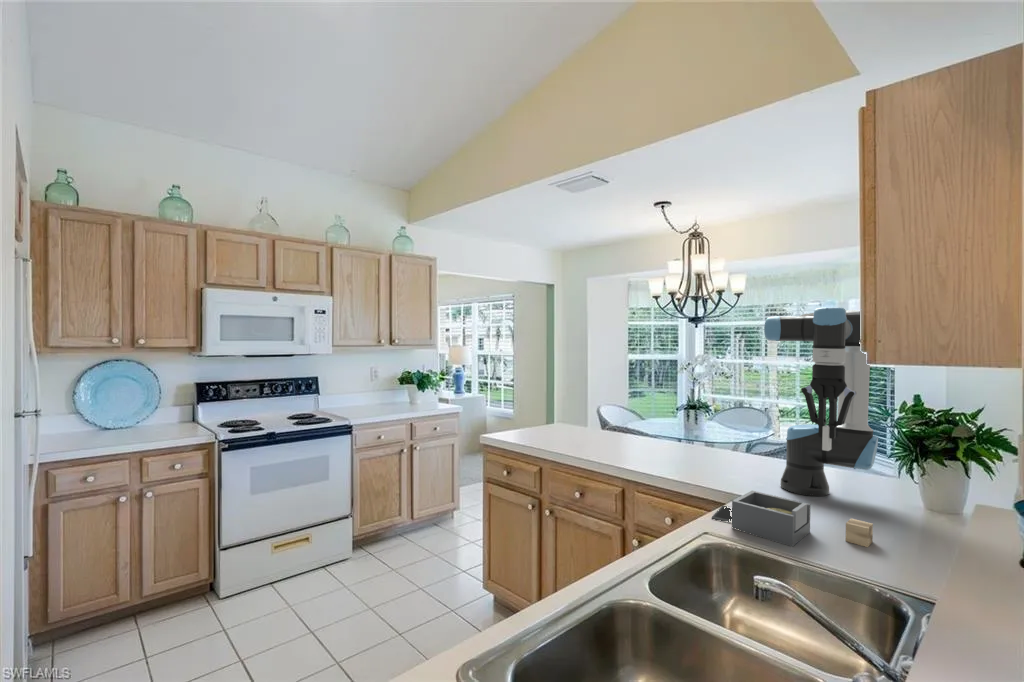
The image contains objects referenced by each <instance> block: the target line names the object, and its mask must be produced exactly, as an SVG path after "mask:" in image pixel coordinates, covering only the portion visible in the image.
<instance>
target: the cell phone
mask: <svg viewBox="0 0 1024 682" xmlns="http://www.w3.org/2000/svg"><path fill="white" fill-rule="evenodd" d="M724 507H726V508H725V509H724ZM718 510H719V511H718ZM718 510H717V511H716V512H714V514H713V515H712V516H711V520H713V519H715V520H714V521H717V520H721V521H728V522H729V519H730V521H731V519H732V517H731V516H730V511H729V510H731V509H730V508H727V505H722V506H720V507H719V508H718ZM731 512H732V511H731ZM721 521H720V522H721Z"/></svg>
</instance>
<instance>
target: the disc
mask: <svg viewBox="0 0 1024 682" xmlns="http://www.w3.org/2000/svg"><path fill="white" fill-rule="evenodd" d="M767 509H771V510H775V511H779V512H783V513H787V514H791V515H792V512H790V511H787V510H784V509H779V508H767Z"/></svg>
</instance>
